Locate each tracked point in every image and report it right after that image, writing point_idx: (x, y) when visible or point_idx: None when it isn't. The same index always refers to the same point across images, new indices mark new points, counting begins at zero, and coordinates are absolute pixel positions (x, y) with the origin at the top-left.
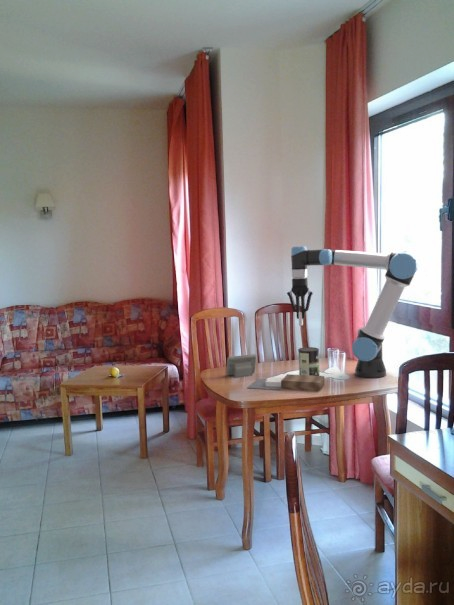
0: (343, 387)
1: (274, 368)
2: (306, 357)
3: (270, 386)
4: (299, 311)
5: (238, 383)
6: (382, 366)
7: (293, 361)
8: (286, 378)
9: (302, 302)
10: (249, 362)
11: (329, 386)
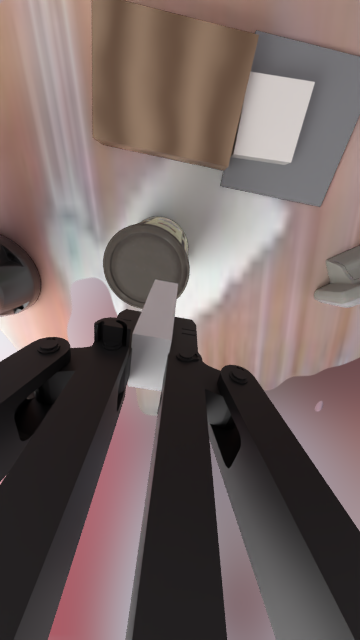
0: (34, 96)
1: (253, 334)
2: (155, 223)
3: None
4: (162, 383)
5: None
6: None
7: None
8: (233, 85)
9: (33, 488)
10: (355, 280)
11: (82, 111)
